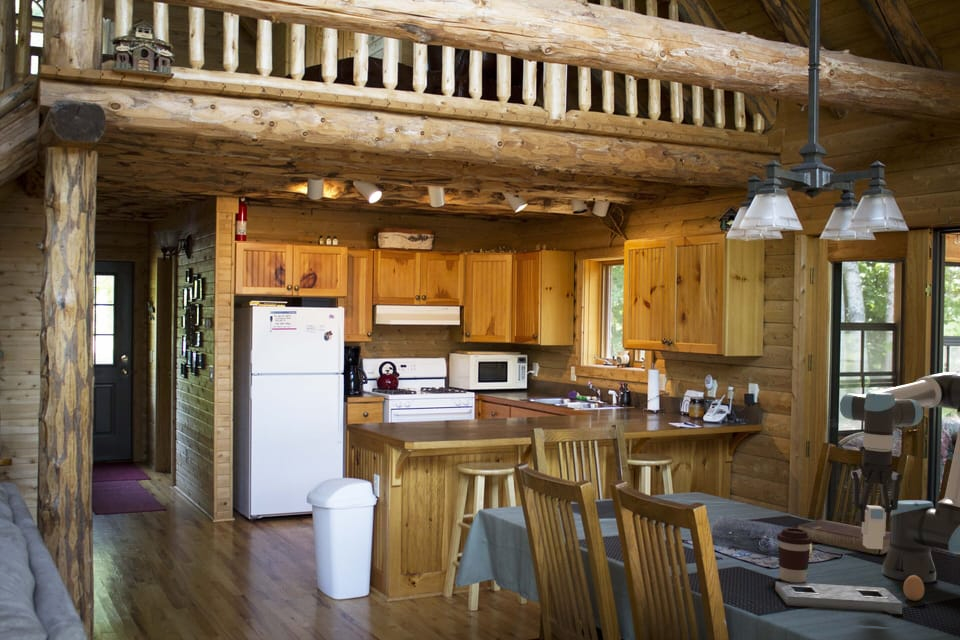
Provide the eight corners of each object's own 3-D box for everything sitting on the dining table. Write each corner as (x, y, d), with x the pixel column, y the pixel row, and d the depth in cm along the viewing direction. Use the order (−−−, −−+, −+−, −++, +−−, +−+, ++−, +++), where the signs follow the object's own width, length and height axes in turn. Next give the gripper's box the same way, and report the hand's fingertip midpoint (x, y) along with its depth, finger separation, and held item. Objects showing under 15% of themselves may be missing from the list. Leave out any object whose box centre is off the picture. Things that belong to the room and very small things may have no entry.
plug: (877, 545, 269) (879, 505, 269) (883, 549, 264) (885, 509, 264) (862, 544, 269) (864, 505, 269) (868, 548, 265) (870, 508, 265)
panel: (884, 598, 274) (884, 587, 274) (901, 614, 260) (902, 602, 260) (775, 591, 276) (775, 581, 276) (787, 607, 262) (787, 595, 262)
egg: (922, 604, 270) (924, 579, 270) (901, 600, 272) (902, 575, 272) (924, 599, 275) (926, 574, 274) (903, 596, 277) (905, 571, 277)
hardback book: (901, 547, 338) (902, 533, 338) (880, 556, 324) (880, 541, 324) (820, 531, 358) (821, 518, 358) (797, 539, 344) (798, 525, 344)
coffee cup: (812, 587, 283) (814, 535, 283) (776, 583, 285) (779, 532, 284) (808, 577, 292) (810, 528, 292) (773, 574, 294) (775, 525, 294)
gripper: (904, 448, 270) (900, 533, 270) (841, 445, 271) (837, 529, 271) (914, 452, 262) (910, 539, 263) (849, 449, 264) (845, 535, 264)
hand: (873, 534), depth 267 cm, fingers closed on plug, 4 cm apart
